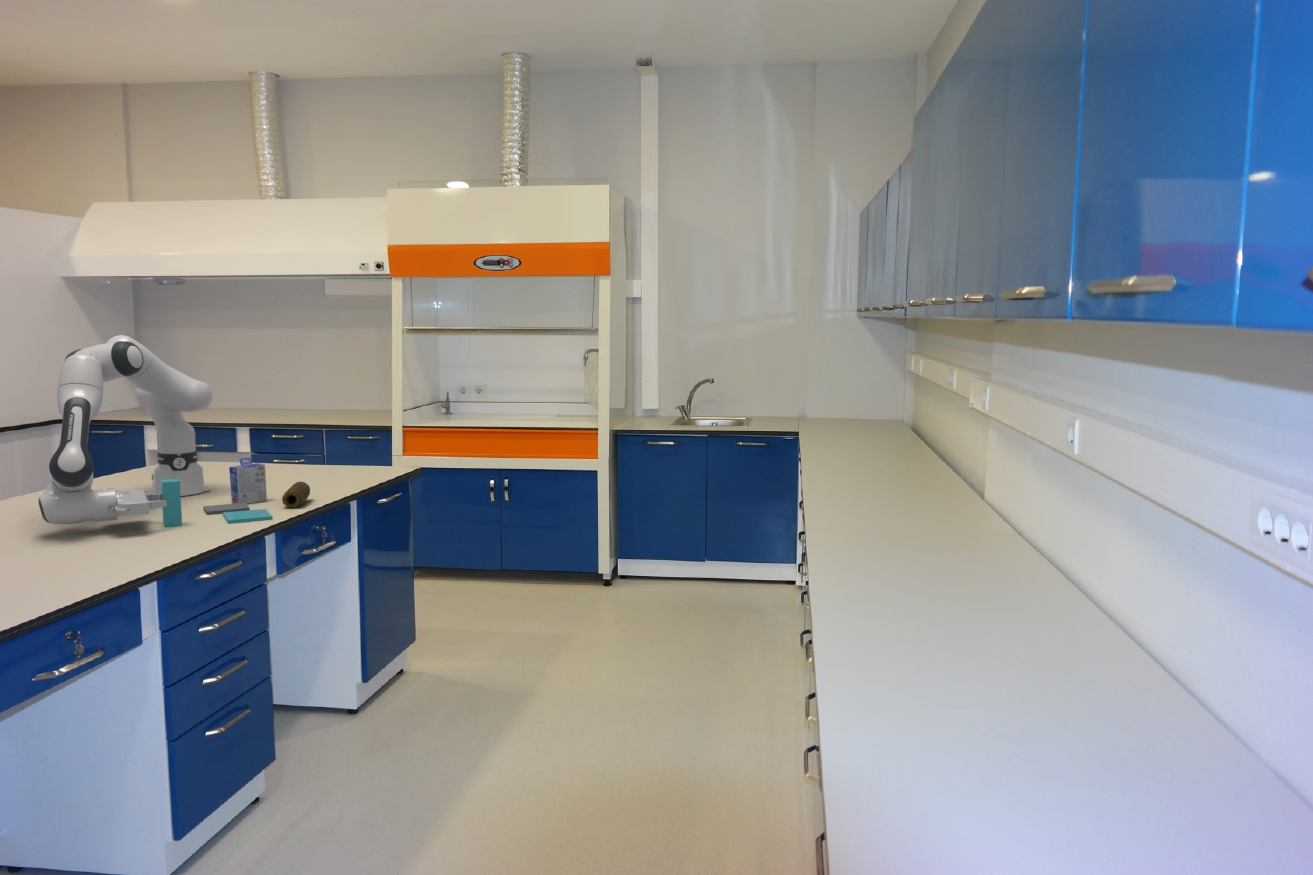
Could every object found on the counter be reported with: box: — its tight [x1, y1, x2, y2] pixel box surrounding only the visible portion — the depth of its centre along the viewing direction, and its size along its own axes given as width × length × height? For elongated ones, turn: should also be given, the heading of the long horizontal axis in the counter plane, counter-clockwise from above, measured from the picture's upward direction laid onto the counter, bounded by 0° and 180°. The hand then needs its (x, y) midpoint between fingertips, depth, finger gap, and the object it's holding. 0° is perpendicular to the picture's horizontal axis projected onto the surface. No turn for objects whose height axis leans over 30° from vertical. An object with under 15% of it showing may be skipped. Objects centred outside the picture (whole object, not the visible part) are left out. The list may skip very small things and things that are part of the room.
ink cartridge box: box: [228, 457, 268, 505], centre depth 294 cm, size 10×6×14 cm, turn 142°
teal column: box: [161, 479, 183, 528], centre depth 261 cm, size 4×4×13 cm
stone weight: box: [281, 481, 311, 508], centre depth 292 cm, size 15×7×7 cm, turn 14°
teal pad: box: [222, 508, 273, 525], centre depth 272 cm, size 12×12×1 cm
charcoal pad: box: [203, 503, 251, 516], centre depth 282 cm, size 9×12×1 cm
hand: (165, 499), depth 260 cm, fingers open, 8 cm apart
